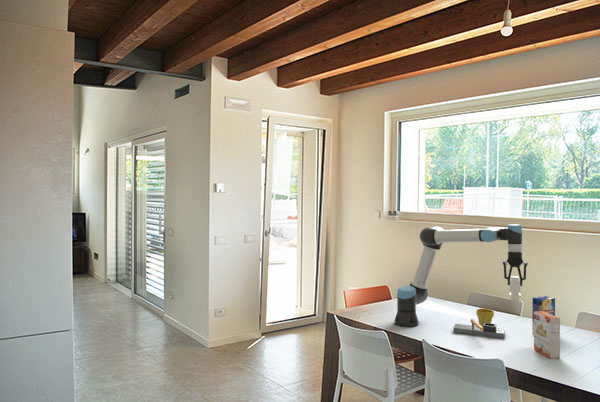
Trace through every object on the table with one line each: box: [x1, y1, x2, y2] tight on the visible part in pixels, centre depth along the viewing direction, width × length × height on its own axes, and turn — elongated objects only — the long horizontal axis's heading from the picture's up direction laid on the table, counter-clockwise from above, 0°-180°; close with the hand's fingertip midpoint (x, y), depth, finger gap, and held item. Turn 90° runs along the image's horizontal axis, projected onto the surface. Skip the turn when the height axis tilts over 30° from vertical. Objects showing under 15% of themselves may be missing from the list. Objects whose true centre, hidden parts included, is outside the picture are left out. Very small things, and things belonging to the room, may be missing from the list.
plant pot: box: [476, 308, 495, 327], centre depth 298 cm, size 10×10×10 cm
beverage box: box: [531, 295, 556, 336], centre depth 279 cm, size 7×11×22 cm, turn 116°
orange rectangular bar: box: [470, 318, 483, 330], centre depth 271 cm, size 18×3×6 cm, turn 176°
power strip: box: [453, 322, 506, 340], centre depth 281 cm, size 28×10×6 cm, turn 64°
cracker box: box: [533, 311, 561, 359], centre depth 244 cm, size 14×6×21 cm, turn 5°
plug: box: [508, 275, 522, 303], centre depth 271 cm, size 6×8×14 cm
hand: (515, 291), depth 272 cm, fingers closed on plug, 4 cm apart
